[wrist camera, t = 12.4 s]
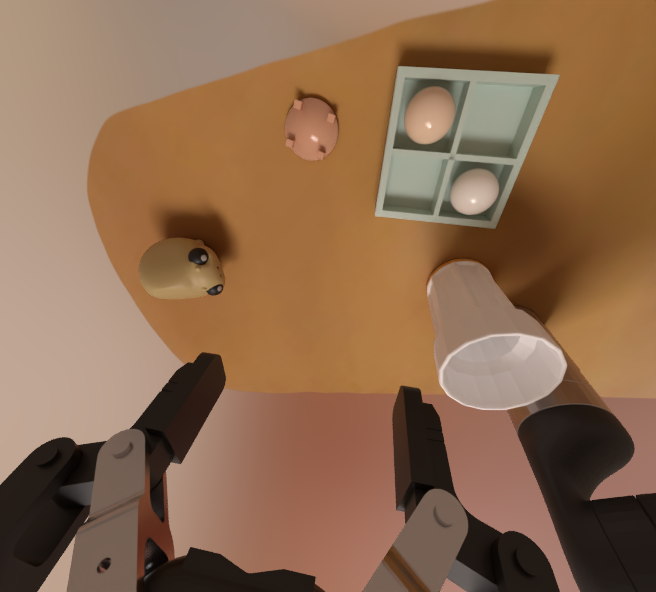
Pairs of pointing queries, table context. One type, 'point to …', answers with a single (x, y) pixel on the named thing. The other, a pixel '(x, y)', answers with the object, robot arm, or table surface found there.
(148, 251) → the yellow toy animal head
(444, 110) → the brown egg
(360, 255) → the table surface
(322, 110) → the egg cup
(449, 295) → the cup
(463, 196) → the cream egg
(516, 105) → the egg tray
